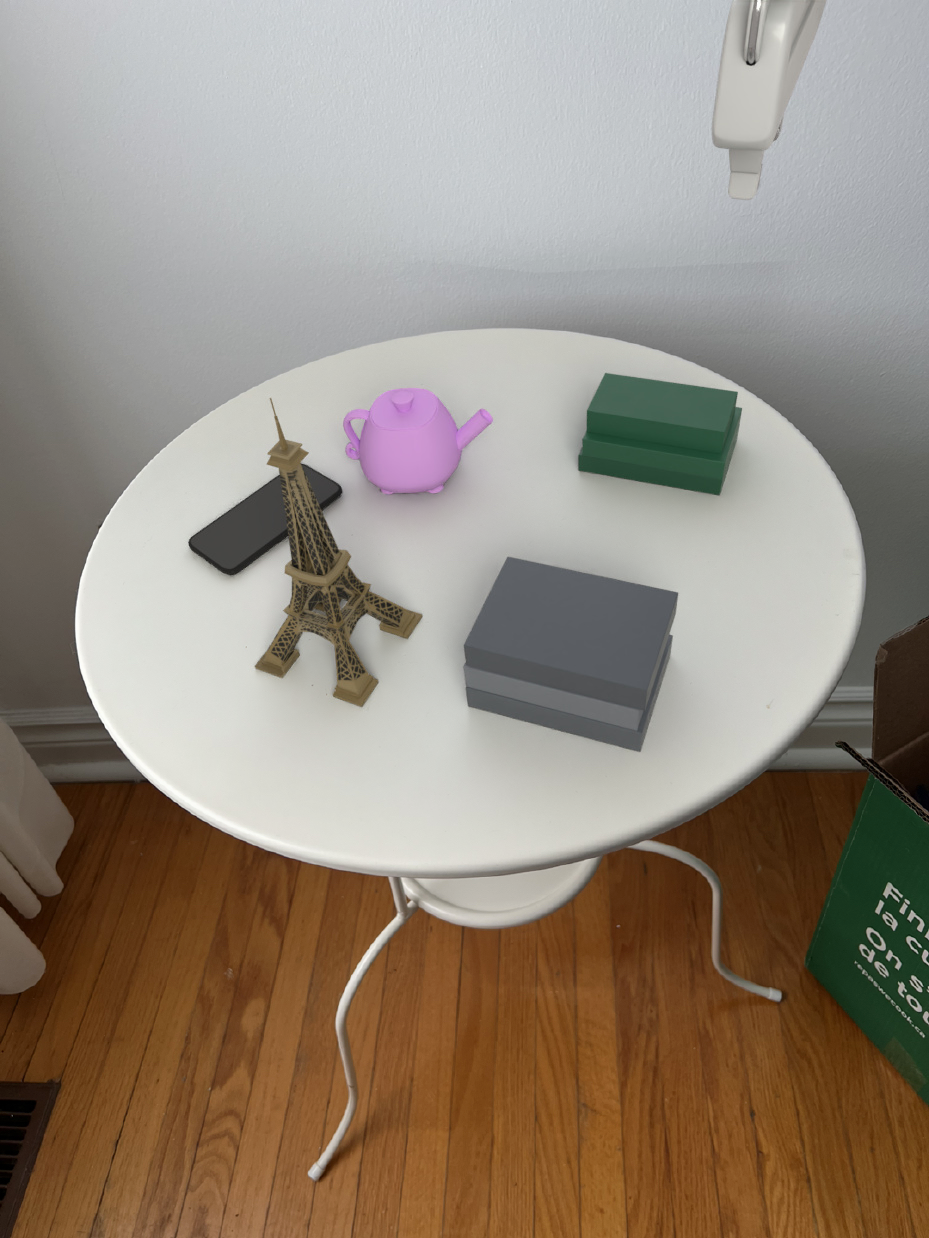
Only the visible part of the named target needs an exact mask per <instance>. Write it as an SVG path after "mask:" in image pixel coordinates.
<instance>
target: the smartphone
mask: <svg viewBox="0 0 929 1238" xmlns="http://www.w3.org/2000/svg"><path fill="white" fill-rule="evenodd" d="M301 464H302V467H303V469H304V471H305V474H306V476H307V478H308V481H309V483H310V485H311V488H312V490H313V492H314V495H315V497H316V499H317V502H318V504H319V506H320V509H321V511H322V512H323V510H324V509H326V508H327V507H328V506H330V505H331V504H333V503H334V502H335V501H336V500H338V499H339V498H341V496H342V494H343V488H342V486H341V485H340V483H338V482H336V481H335V480H333V479H331V478H330V477H328V476H326V475H324V474H323V473H321V472H319V471H318V470H316V469H314V468H312V467H311V466H310V465H307V464H305V463H302V462H301ZM287 537H289V536H288V529H287V521H286V513H285V507H284V500H283V494H282V487H281V481H280V474H279V473H278V475H276V476H275V477H273V478H272V479H271V480H269V481H268V482H267V483H265V484H264V485H262V486H261V487H260V488H258V489H257V490H255V491H254V492H252V493H251V494H250V495H248V496H247V497H245V498H244V499H242V500H241V501H240V502H238V503H237V504H236V505H234V506H233V507H231V508H230V509H229V510H227V511H226V512H224V513H223V514H221V515H220V516H218V517H217V518H216V519H214V520H213V521H211V522H210V523H209V524H207V525H206V526H204V527H203V528H202V529H200V530H199V531H197V532H196V533H195V534H193V535H192V536H191V537H190V538H189V539H188V541H187V542H188V547H189V549H190V550H191V551H192V552H194V553H195V554H196V555H197V556H199V557H200V558H202V559H203V560H204V561H205V562H207V563H208V564H210V565H211V566H213V567H214V568H215V569H217V570H218V571H219V572H221V574H224V575H226V576H235V575H237V574H238V573H240V572H241V571H243V570H244V569H245V568H247V567H248V566H249V565H251V564H252V563H253V562H255V561H256V560H258V559H259V558H260V557H262V556H263V555H264V554H265V553H267V552H268V551H270V550H271V549H272V548H274V547H275V546H276V545H277V544H279V543H280V542H281V541H283V540H284V539H286V538H287Z"/></svg>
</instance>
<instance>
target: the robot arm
mask: <svg viewBox="0 0 929 1238" xmlns="http://www.w3.org/2000/svg"><path fill="white" fill-rule="evenodd" d="M826 4H827V0H732V2H731V5H730V8H729V12H728V16H727V19H726V25H725V30H724V35H723V41H722V47H721V53H720V61H719V66H718V67H719V68H718V73H717V81H716V82H717V83H716V89H715V96H714V104H713V111H712V120H711V140H712V144H713V147H716V148H718V149H725V150H728V158H729V172H730V174H729V181H728V189H727V194H728V196H729V197H730V198H731V199H732V200H742V201H750V200H753V199H754V198H755V197H756V195H757V193H758V190H759V187H760V183H761V176H762V170H763V159H764V154H765V151H767V150H768V149H770V147H771V146H772V145H773V143H774V142H775V141H777V140H778V138H779V136H780V133H781V131H782V130H783V129H782V128H783V123H784V118H785V112H786V110H787V108H788V105H789V103H790V100H791V97H792V95H793V93H794V90H795V88H796V85H797V83H798V80H799V78H800V75H801V72H802V70H803V67H804V66H805V62H806V60H807V57H808V56H809V53H810V50H811V48H812V45H813V43H814V40H815V38H816V36H817V32H818V31H819V27H820V24H821V20H822V17H823V14H824V10H825V6H826Z"/></svg>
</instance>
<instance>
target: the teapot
mask: <svg viewBox="0 0 929 1238" xmlns="http://www.w3.org/2000/svg"><path fill="white" fill-rule="evenodd" d="M353 420H364V422H363V425H362V429H361V432H360V437H359V436H358V435H357V434H356V431H355V430H354V428H353V426H352V423H351V421H353ZM492 423H494V418H493V415H491V413H490V412H489V411H488V410H487V409H485V408H480V409H478V410H477V411H476V412H475V413H474V414H473V415H472V416H471V417H470V418H469V419H468V420H467V421H466V422H465V423H464V424H463V425H461V427H460V428H458V426H457V423H456V422H455V419H454V418H453V416H452V414H451V412H450V411H449V410H448V408H447V407H446V406H445V404H444V403H443V401H442V400H440V398H439V397H438V396H437V395H436V394H435V393H434V392H432V391H431V390H428V389H425V388H420V387H402V388H394V389H390V390H387V391H384V392H383V393H381V394H380V395H379V396H377V398H375V400H374V401H373V402H372V404H371V406H370V408H369V410H368V409H365V408H355V409H353V410H350V411H349V412H348V413H346V415H345V416H344V417H343V421H342V427H343V430H344V433H345V435H346V437H347V438H348V440H349V442H348V443H347V444H346V446H345V450H344V451H345V455H346V457H348V459H351V460H354V461H357V460H359V463H360V467H361V470H362V472H363V474H364V476H365V478H366V479H367V480H368V481H369V482H370V483H371V484H373V485H375V486H376V487H377V488H379V489H380V493H383V494H384V495H393V494H395V493H398V494H415V493H416V494H417V493H422V492H428V493H429V494H437V493H440V492H442V491H443V490H444V487H445V485H444V484H445V483H446V482H447V481H448V480H449V478H451V476H453V474H454V472H455V470H456V469H457V468H458V465H459V464H460V461H461V458H462V454H463V450H464V449H465V448H466V447H467V446H468V445H469V444H470V443H472V441H474V440H475V439H476V438H477V437H478V436H479V435H480V434H481V433H482V432H484V430H486V429H487V428H488V427H489V426H490V425H491V424H492Z"/></svg>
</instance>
